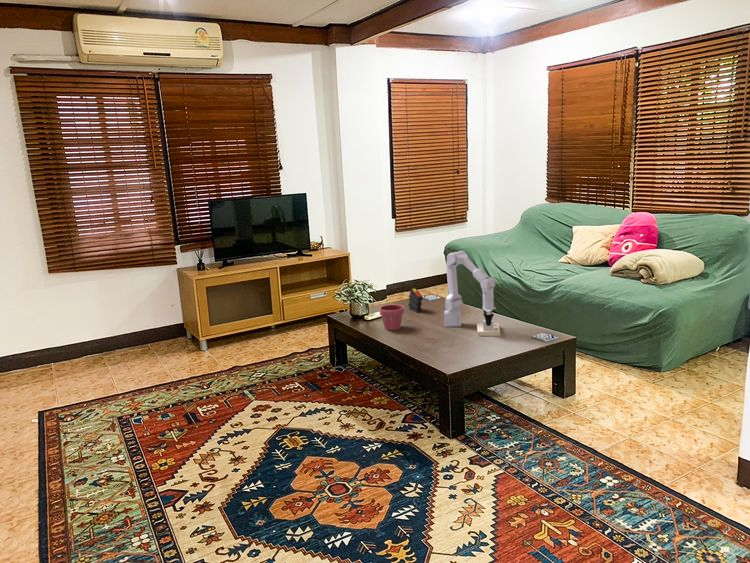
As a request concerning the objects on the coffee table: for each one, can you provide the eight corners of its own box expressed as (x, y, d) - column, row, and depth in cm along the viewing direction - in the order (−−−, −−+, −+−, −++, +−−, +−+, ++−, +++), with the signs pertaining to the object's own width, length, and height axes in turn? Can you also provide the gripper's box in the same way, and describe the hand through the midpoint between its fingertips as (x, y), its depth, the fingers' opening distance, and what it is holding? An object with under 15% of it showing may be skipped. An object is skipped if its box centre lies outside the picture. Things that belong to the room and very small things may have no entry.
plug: (483, 333, 313) (483, 321, 311) (483, 331, 317) (482, 319, 316) (493, 333, 312) (493, 321, 310) (493, 331, 316) (493, 319, 315)
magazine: (411, 304, 375) (415, 286, 367) (420, 317, 366) (424, 299, 357) (406, 305, 374) (410, 287, 365) (415, 318, 365) (419, 300, 356)
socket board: (477, 335, 312) (477, 330, 311) (477, 327, 326) (476, 322, 326) (499, 335, 310) (499, 330, 309) (498, 327, 324) (498, 322, 324)
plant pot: (384, 324, 342) (383, 303, 339) (406, 324, 338) (405, 304, 335) (377, 331, 329) (376, 310, 326) (401, 332, 325) (400, 311, 322)
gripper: (496, 303, 303) (496, 327, 306) (494, 296, 317) (494, 319, 320) (482, 303, 304) (483, 327, 307) (482, 296, 318) (482, 319, 321)
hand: (488, 323), depth 313 cm, fingers open, 7 cm apart
